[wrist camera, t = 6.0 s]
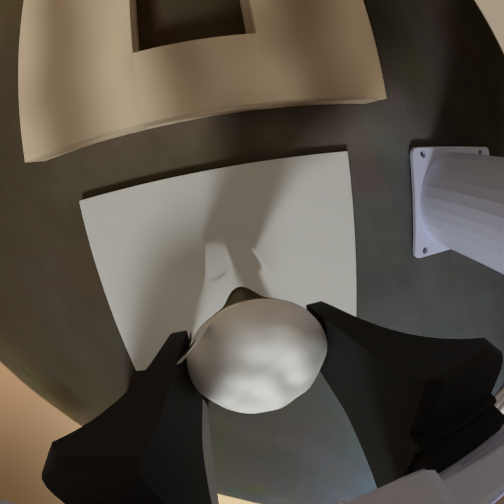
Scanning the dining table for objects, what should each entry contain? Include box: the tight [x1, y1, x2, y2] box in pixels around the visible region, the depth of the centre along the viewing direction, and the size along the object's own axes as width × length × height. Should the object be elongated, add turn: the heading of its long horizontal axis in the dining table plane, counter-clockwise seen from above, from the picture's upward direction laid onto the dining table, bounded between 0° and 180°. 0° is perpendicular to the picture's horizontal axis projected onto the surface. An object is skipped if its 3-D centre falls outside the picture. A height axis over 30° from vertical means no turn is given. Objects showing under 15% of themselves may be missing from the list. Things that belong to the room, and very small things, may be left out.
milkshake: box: [177, 235, 327, 414], centre depth 12 cm, size 4×5×10 cm
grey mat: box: [79, 151, 356, 371], centre depth 18 cm, size 16×12×1 cm
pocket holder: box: [18, 0, 386, 162], centre depth 12 cm, size 20×14×2 cm
